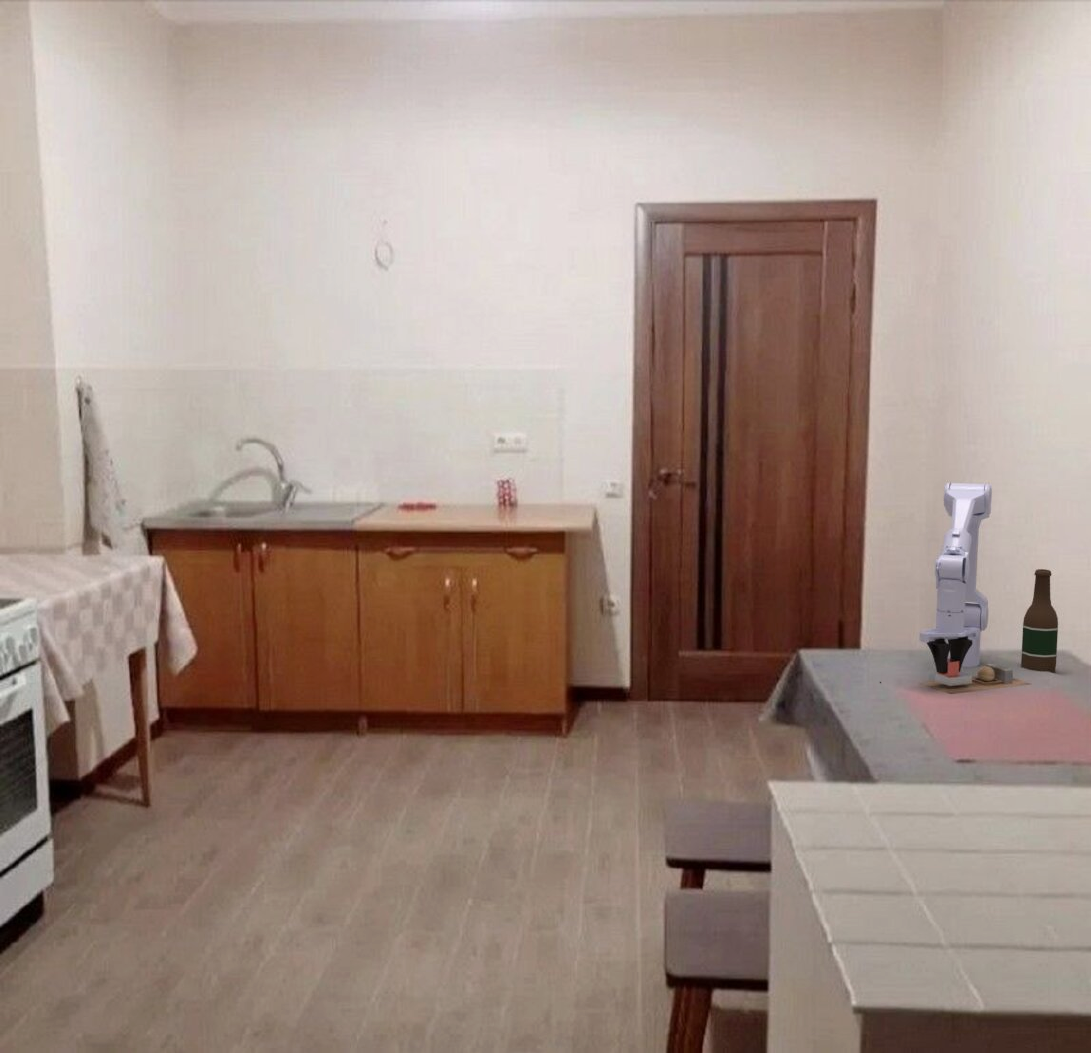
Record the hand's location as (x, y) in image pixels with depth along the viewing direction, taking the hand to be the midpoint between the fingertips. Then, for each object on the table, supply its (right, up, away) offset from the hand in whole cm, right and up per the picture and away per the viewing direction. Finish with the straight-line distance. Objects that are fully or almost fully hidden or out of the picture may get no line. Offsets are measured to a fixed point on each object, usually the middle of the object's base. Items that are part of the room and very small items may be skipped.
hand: (948, 672), depth 238 cm
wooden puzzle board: (+7, -4, +3) cm, 9 cm away
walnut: (+10, -3, +4) cm, 11 cm away
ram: (+1, -2, +1) cm, 3 cm away
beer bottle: (+27, -3, +17) cm, 32 cm away
